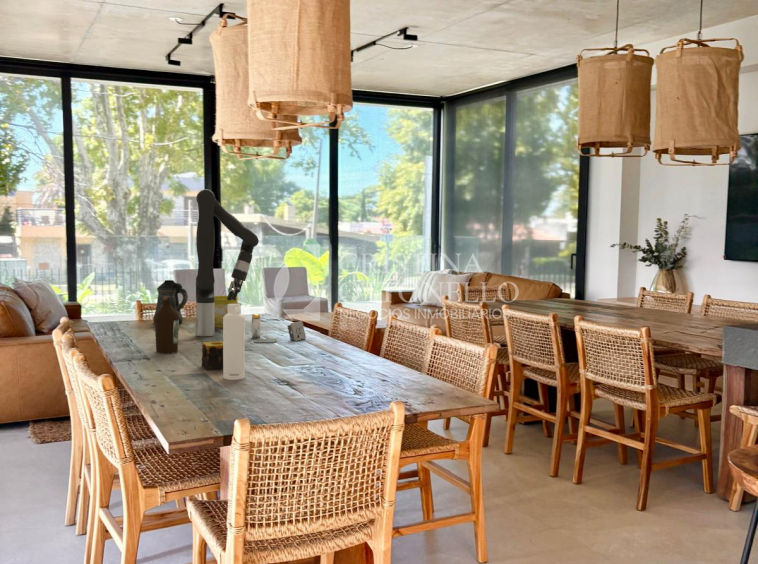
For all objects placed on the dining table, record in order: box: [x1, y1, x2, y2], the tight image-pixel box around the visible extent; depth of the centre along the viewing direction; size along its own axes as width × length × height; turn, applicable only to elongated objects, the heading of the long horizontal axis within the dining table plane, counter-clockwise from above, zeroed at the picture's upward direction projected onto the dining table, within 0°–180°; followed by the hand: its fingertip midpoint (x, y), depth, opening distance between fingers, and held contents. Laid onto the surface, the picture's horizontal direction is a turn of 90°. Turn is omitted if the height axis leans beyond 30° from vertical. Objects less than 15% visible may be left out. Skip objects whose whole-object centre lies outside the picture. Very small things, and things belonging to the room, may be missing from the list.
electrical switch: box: [286, 320, 307, 342], centre depth 360 cm, size 9×5×9 cm, turn 152°
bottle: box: [222, 303, 246, 381], centre depth 269 cm, size 8×8×28 cm
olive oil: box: [153, 297, 180, 354], centre depth 320 cm, size 11×11×25 cm
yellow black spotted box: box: [201, 340, 223, 371], centre depth 288 cm, size 10×10×10 cm
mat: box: [253, 338, 277, 344], centre depth 353 cm, size 10×10×1 cm
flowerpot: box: [214, 295, 239, 328], centre depth 403 cm, size 18×18×16 cm
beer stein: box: [152, 279, 189, 325], centre depth 409 cm, size 16×19×25 cm
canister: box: [251, 313, 261, 339], centre depth 363 cm, size 4×4×12 cm
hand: (231, 300), depth 366 cm, fingers open, 8 cm apart
